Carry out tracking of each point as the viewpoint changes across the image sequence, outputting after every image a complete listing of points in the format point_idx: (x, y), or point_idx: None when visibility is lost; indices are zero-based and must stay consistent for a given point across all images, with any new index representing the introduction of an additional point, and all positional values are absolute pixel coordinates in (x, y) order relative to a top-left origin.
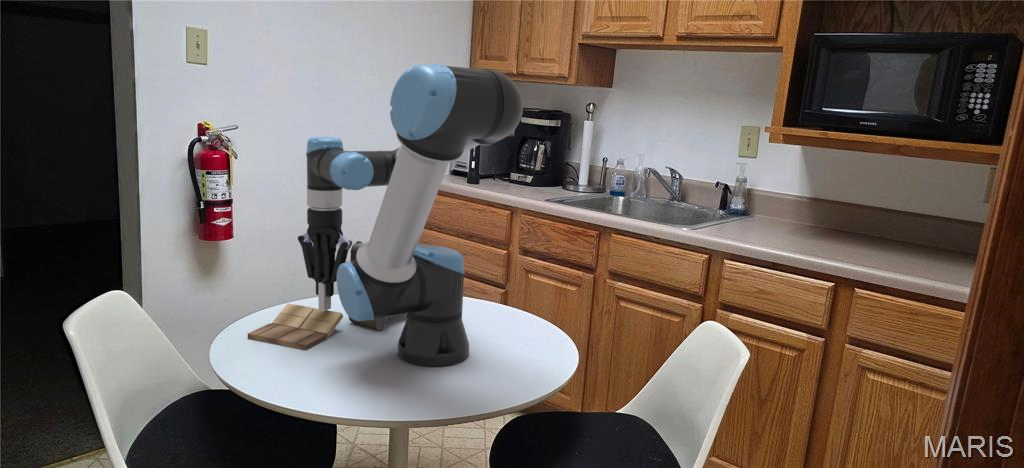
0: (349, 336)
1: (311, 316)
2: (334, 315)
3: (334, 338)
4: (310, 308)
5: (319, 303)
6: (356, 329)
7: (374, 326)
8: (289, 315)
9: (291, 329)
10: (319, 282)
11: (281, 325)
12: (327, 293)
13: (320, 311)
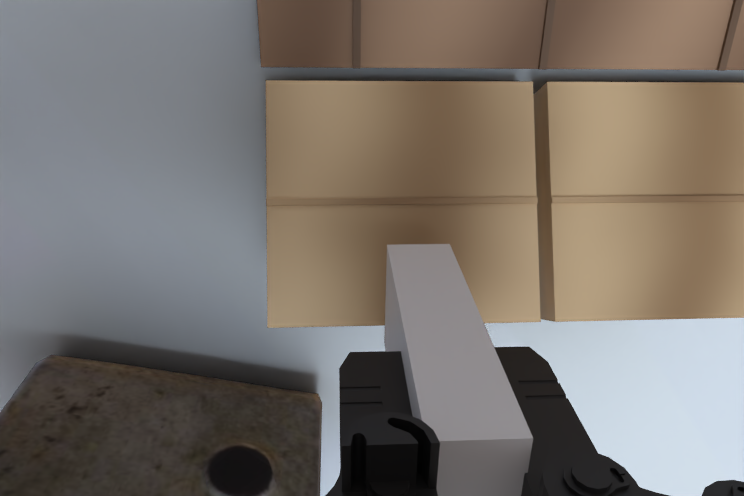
0: (159, 188)
1: (513, 223)
2: (318, 283)
3: (225, 102)
4: (578, 307)
5: (451, 277)
6: (210, 317)
7: (66, 359)
8: (707, 190)
9: (580, 20)
10: (538, 469)
11: (699, 64)
12: (380, 376)
13: None
